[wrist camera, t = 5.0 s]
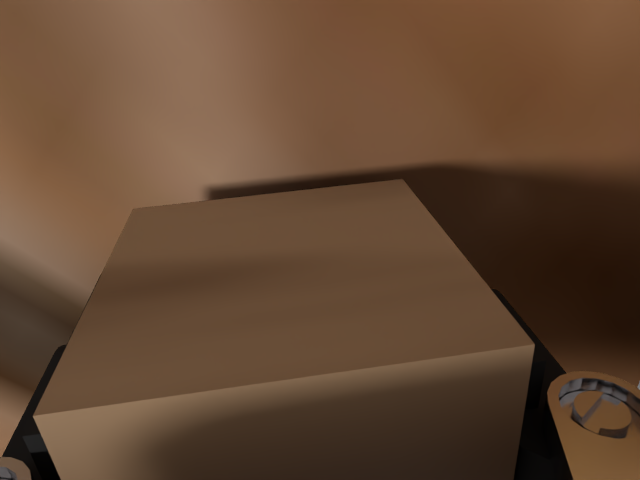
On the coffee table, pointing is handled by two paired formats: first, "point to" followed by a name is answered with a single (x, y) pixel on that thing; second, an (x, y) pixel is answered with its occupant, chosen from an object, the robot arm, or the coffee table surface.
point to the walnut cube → (289, 348)
